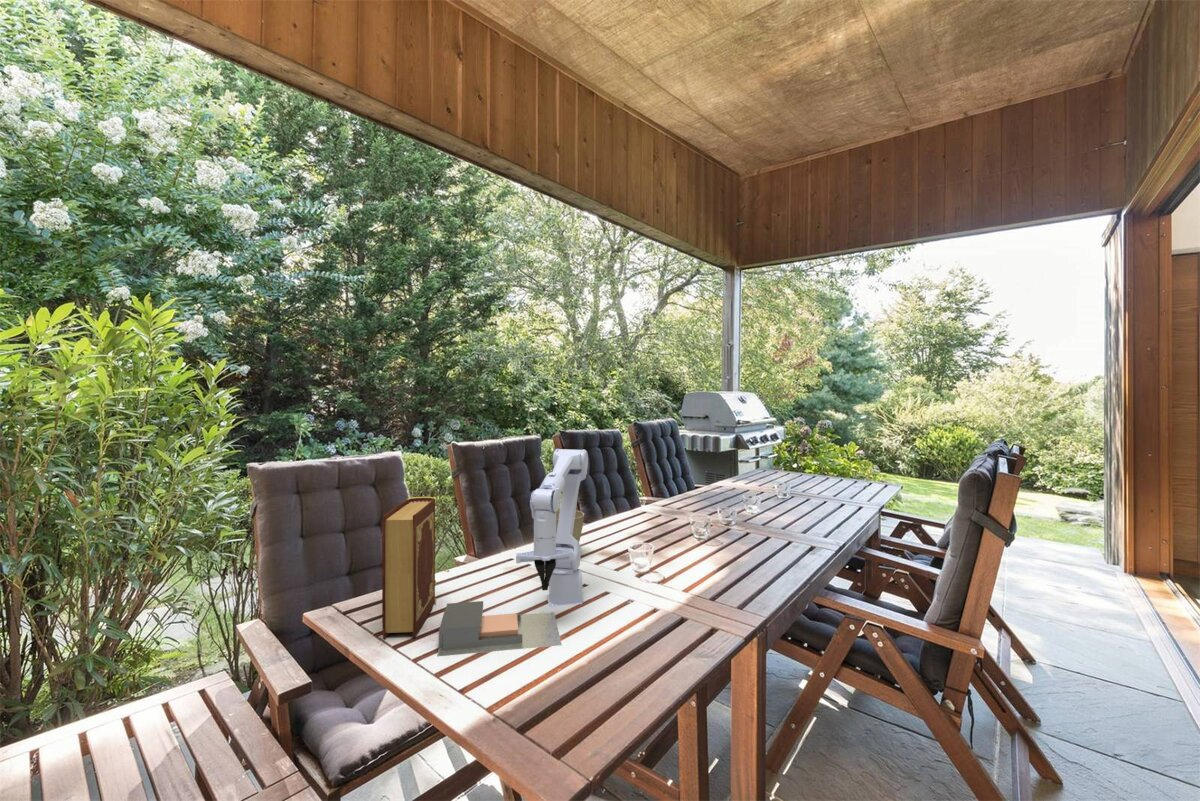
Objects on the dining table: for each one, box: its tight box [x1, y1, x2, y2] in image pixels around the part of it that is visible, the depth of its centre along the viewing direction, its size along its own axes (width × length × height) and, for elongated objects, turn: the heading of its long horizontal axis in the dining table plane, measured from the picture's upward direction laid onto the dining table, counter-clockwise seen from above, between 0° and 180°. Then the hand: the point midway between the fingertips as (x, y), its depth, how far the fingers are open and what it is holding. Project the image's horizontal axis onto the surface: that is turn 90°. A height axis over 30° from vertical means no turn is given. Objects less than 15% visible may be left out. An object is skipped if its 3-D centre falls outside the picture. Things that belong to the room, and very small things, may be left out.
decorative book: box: [381, 496, 437, 641], centre depth 131 cm, size 22×8×30 cm, turn 5°
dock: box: [436, 600, 562, 657], centre depth 123 cm, size 28×18×6 cm, turn 101°
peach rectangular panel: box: [479, 612, 518, 638], centre depth 122 cm, size 16×9×2 cm, turn 101°
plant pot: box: [556, 509, 585, 548], centre depth 181 cm, size 15×15×16 cm
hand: (544, 588), depth 128 cm, fingers closed
